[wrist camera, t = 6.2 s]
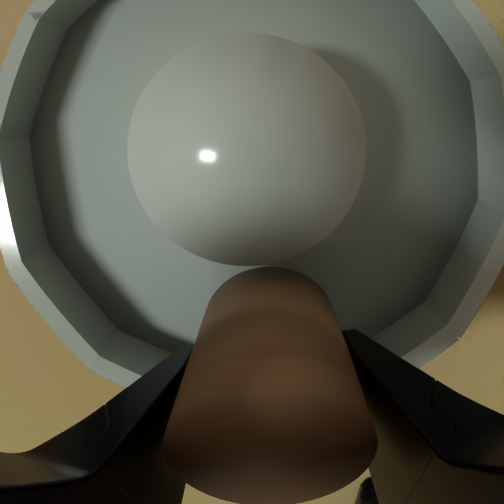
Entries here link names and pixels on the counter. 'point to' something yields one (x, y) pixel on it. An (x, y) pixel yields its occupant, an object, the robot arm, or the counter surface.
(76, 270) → the groove tray
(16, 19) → the counter surface
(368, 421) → the brown rounded short cylinder
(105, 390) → the counter surface
